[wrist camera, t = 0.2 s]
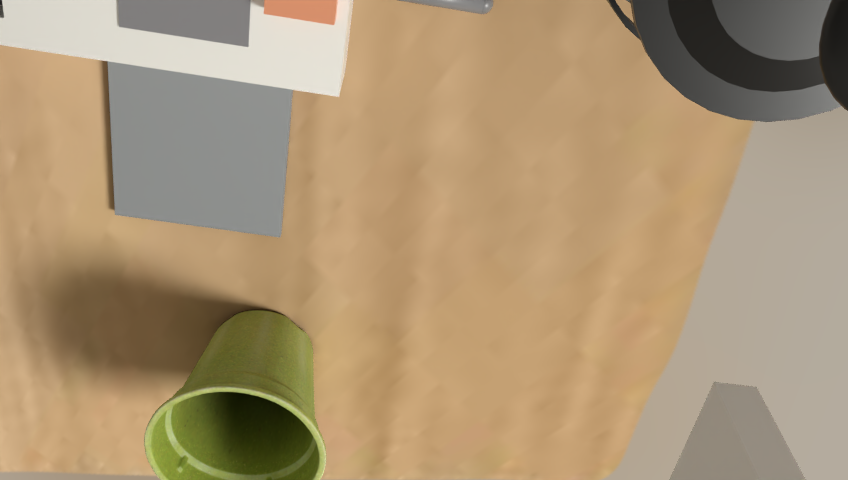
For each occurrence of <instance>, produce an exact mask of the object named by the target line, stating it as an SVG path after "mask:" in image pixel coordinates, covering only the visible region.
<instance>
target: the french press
mask: <svg viewBox="0 0 848 480" xmlns="http://www.w3.org/2000/svg"><path fill="white" fill-rule="evenodd" d="M607 1H608V3H609V4H610V6H611V7H612V9H613V10H614V12H615V13H616V14H617V16H618V17H619V19H620V20H621V21H622V23H623V24H624V25H625V27H626V28H628V29H629V30H630V31H631V32H632V33H633V34H634V35H635V36H636V37H637V38H639V39H640V40H641V42H642V44H643V47H644V49H645V52H646V53H647V54H648V56H649V57H650V59H651V60H652V62H653V63H654V65H655V66H656V67H657V69H658V70H659V72H660V73H661V75H662V76H663V77H664V79H666V80H667V81H668V82H669V83H670V84H671V85H672V86H673V87H674V88H676V89H677V90H678V91H679V92H680V93H681V94H682V95H683V96H684V97H686V98H688V99H689V100H691V101H693V102H695V103H697V104H698V105H700V106H702V107H704V108H706V109H707V110H709V111H712V112H715V113H719V114H722V115H725V116H729V117H732V118H735V119H741V120H752V121H763V122H772V121H782V120H794V119H800V118H805V117H808V116H812V115H816V114H820V113H824V112H827V111H831V110H833V109H836V108H838V107H840V106H842V107H843V108H844V109H846V110H847V111H848V0H626V1H628V2H630V3H631V8H632V14H633V20H634V23H633V22H632V21H631V20H630V19H629V18H628V17H627V16H626V15H624V13H623V12H622V10H621V9H620V7H619V6H618V5H617V3H616V1H615V0H607Z"/></svg>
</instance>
